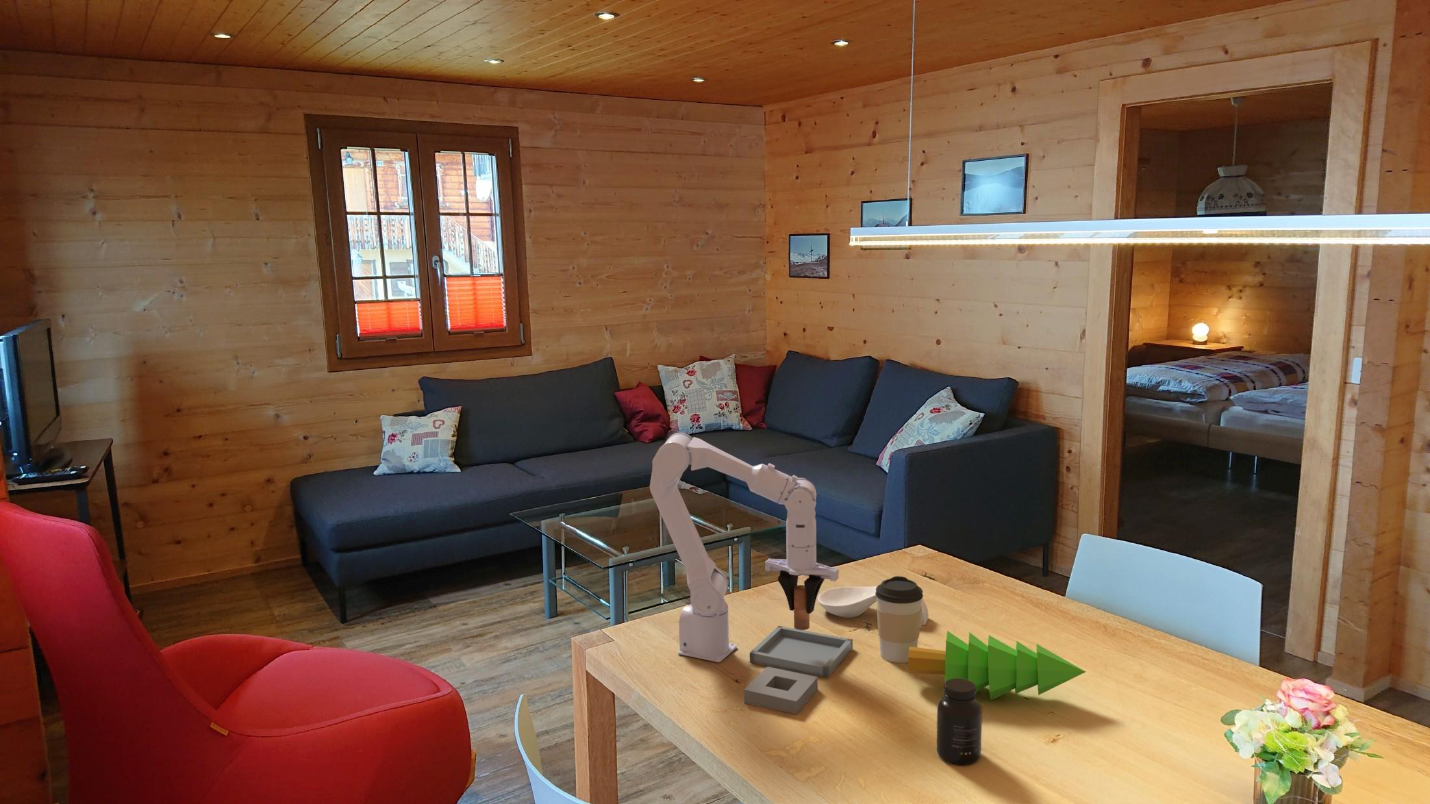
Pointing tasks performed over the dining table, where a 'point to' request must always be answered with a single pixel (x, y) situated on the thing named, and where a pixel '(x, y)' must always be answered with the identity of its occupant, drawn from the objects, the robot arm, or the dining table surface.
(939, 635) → the dining table surface
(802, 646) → the tray
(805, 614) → the dowel pin
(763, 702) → the socket block
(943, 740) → the supplement bottle
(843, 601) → the spoon rest
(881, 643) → the coffee cup
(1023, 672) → the decorative tree
